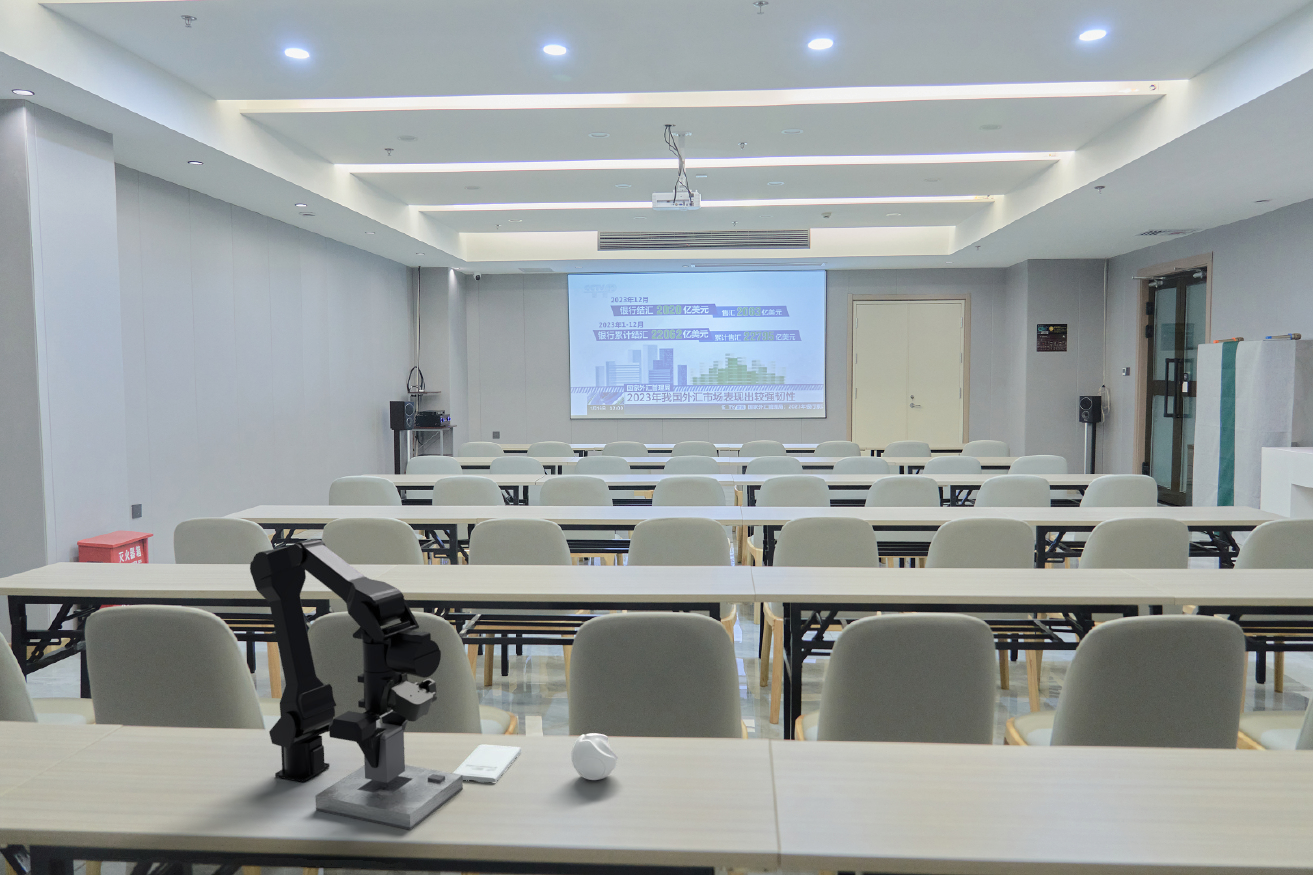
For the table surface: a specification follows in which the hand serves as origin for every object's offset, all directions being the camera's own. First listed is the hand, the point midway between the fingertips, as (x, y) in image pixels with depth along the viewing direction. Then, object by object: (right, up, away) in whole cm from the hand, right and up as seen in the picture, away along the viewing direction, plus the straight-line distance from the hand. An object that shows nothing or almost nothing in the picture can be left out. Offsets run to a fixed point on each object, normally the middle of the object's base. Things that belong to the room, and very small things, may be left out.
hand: (384, 761), depth 139 cm
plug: (0, -2, 0) cm, 2 cm away
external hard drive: (+14, -6, +12) cm, 20 cm away
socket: (+1, -6, 0) cm, 6 cm away
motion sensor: (+34, -6, +7) cm, 35 cm away
